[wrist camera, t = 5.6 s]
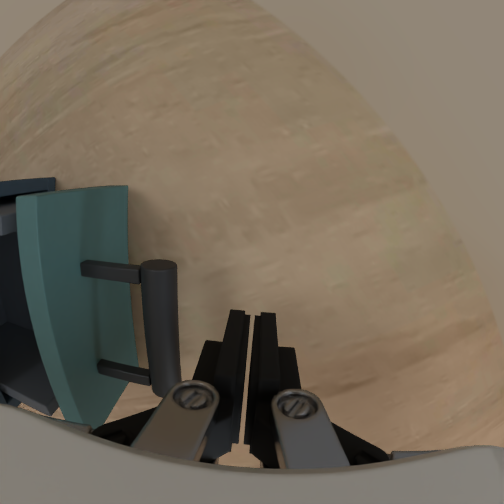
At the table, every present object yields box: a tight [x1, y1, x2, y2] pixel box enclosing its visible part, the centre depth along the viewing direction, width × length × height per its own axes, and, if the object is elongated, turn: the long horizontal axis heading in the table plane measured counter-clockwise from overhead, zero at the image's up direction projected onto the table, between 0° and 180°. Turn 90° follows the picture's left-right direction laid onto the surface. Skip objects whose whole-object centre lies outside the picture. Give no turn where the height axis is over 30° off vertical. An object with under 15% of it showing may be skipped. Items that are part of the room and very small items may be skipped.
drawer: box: [0, 186, 182, 429], centre depth 12 cm, size 17×11×7 cm
